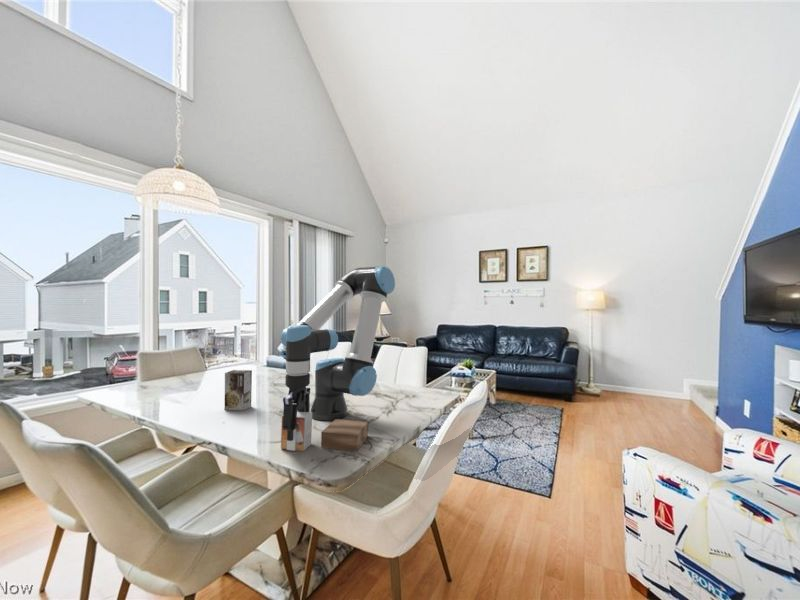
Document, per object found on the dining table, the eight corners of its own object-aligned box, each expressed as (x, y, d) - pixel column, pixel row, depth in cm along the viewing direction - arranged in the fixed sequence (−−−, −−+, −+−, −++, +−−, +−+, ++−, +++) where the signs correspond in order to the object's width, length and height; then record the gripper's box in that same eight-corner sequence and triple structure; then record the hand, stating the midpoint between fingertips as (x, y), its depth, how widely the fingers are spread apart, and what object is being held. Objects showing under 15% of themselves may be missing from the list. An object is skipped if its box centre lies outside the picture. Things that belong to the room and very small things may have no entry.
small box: (280, 449, 102) (281, 415, 102) (289, 442, 107) (289, 410, 107) (304, 451, 100) (304, 417, 101) (311, 444, 106) (312, 411, 106)
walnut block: (335, 433, 115) (335, 419, 115) (367, 436, 113) (368, 421, 113) (321, 447, 103) (321, 431, 103) (357, 451, 101) (357, 435, 101)
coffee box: (251, 406, 144) (252, 370, 144) (243, 411, 138) (244, 373, 138) (232, 405, 145) (233, 369, 145) (223, 410, 139) (224, 372, 139)
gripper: (301, 367, 114) (299, 433, 114) (270, 379, 96) (268, 457, 95) (321, 368, 113) (319, 435, 112) (294, 380, 94) (292, 460, 94)
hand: (296, 445), depth 104 cm, fingers closed on small box, 6 cm apart
